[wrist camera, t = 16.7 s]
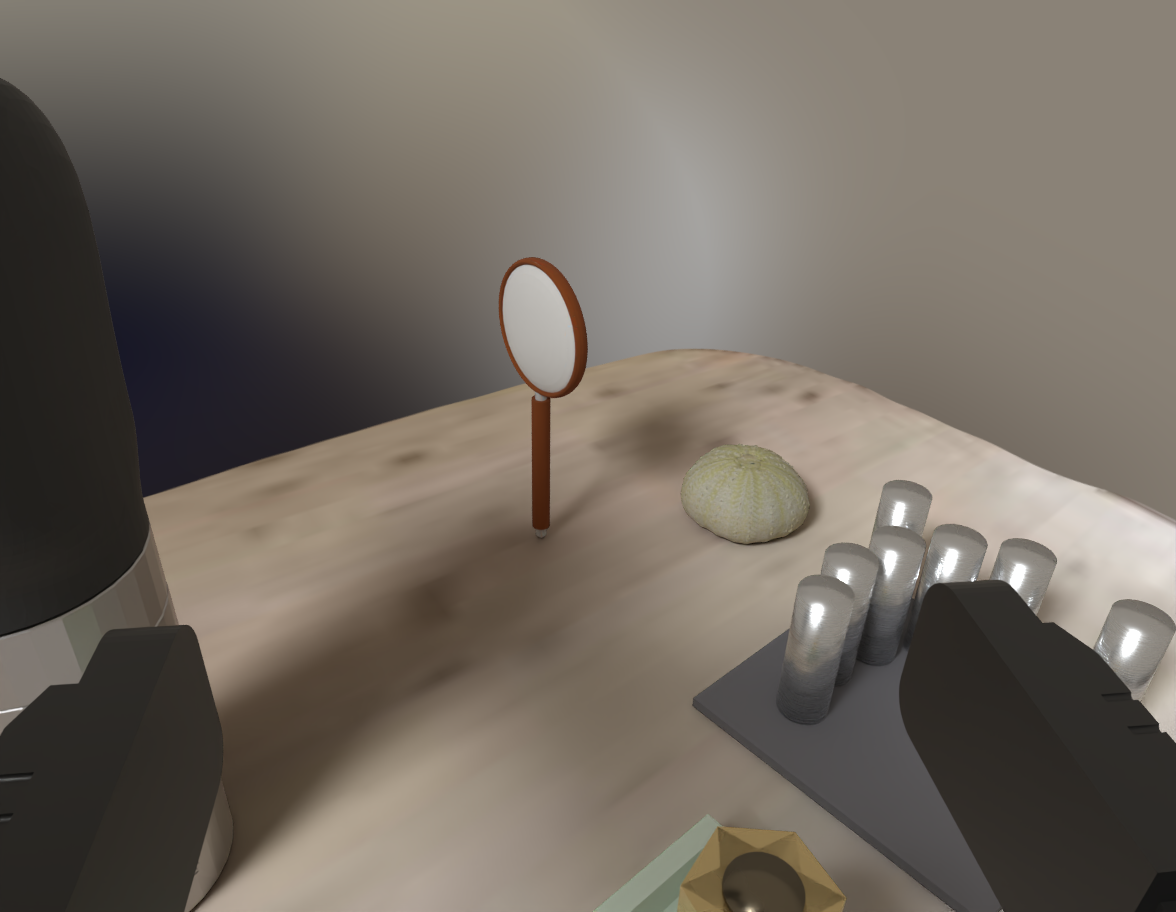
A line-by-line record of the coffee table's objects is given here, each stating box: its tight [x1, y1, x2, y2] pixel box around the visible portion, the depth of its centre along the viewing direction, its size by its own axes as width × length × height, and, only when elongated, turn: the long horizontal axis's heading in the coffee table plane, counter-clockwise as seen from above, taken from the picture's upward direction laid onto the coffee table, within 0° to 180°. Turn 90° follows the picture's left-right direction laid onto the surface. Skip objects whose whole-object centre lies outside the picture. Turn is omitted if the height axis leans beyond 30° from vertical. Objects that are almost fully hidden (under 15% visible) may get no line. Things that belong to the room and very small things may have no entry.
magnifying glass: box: [499, 257, 588, 538], centre depth 57 cm, size 9×2×20 cm, turn 37°
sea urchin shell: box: [681, 444, 810, 544], centre depth 64 cm, size 9×8×8 cm
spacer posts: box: [776, 480, 1176, 726], centre depth 47 cm, size 16×14×8 cm
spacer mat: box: [692, 598, 1002, 912], centre depth 48 cm, size 17×17×1 cm
